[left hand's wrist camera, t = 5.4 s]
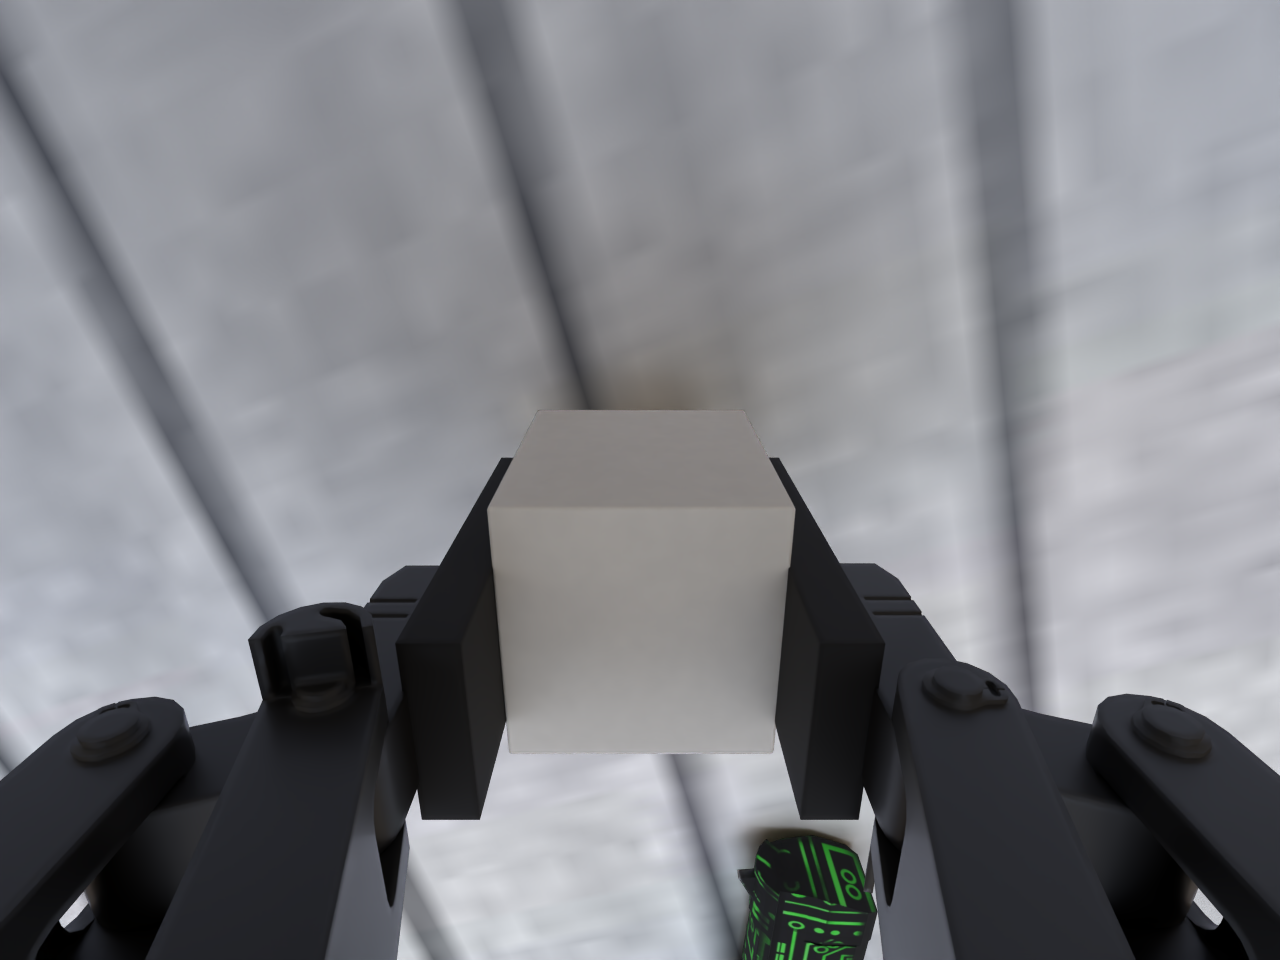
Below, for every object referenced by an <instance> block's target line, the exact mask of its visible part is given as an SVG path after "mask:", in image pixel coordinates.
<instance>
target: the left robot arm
mask: <svg viewBox="0 0 1280 960" xmlns="http://www.w3.org/2000/svg"><path fill="white" fill-rule="evenodd" d="M769 459H770V461H771V463H772V465H773V467H774V469H775V471H776V473H777V475H778V476H779V478H780V480H781V482H782V484H783V486H784V488H785V490H786V492H787V494H788V495H789V497H790V499H791V501H792V503H793V505H794V507H795V520H794V531H793V542H792V553H791V564H790V568H789V569H788V580H787V591H786V602H785V613H784V624H783V636H782V647H781V658H780V669H779V680H778V691H777V702H776V713H775V725H776V729H777V732H778V736H779V740H780V744H781V748H782V751H783V755H784V759H785V763H786V766H787V770H788V774H789V778H790V781H791V785H792V789H793V793H794V797H795V800H796V804H797V808H798V812H799V815H800V819H801V820H859V813H860V807H861V800H862V794H863V787H864V788H865V791H866V793H867V796H868V798H869V801H870V803H871V806H872V808H873V811H874V814H875V821H874V827H873V833H872V839H871V845H870V851H869V857H868V863H867V869H866V875H865V882H864V890H863V892H868V893H873V887H874V882H875V891H876V899H877V908H878V917H879V925H880V934H881V943H882V951H883V960H1280V776H1279V775H1278V774H1277V773H1276V772H1275V771H1274V770H1272V769H1271V768H1270V767H1269V766H1268V765H1267V764H1265V763H1264V762H1263V761H1262V760H1261V759H1259V758H1258V757H1257V756H1256V755H1255V754H1254V753H1252V752H1251V751H1250V750H1249V749H1248V748H1246V747H1245V746H1244V745H1243V744H1242V743H1241V742H1239V741H1238V740H1237V739H1236V738H1235V737H1233V736H1232V735H1231V734H1230V733H1229V732H1227V731H1226V730H1224V729H1223V728H1221V727H1220V726H1218V725H1217V724H1216V723H1214V722H1213V721H1211V720H1210V719H1208V718H1207V717H1205V716H1203V715H1201V714H1199V713H1197V712H1194V711H1192V710H1190V709H1188V708H1186V707H1184V706H1183V705H1180V704H1178V703H1175V702H1172V701H1169V700H1167V701H1166V700H1164V699H1161V698H1157V697H1152V696H1144V695H1134V694H1122V695H1116V696H1111V697H1107V698H1106V699H1105V700H1104V701H1103V702H1102V703H1100V704H1099V705H1098V707H1097V711H1096V714H1095V717H1094V721H1093V724H1087V723H1083V722H1078V721H1073V720H1068V719H1063V718H1058V717H1054V716H1049V715H1044V714H1040V713H1036V712H1032V711H1028V710H1025V709H1021V706H1020V704H1019V702H1018V700H1017V698H1016V697H1015V696H1014V694H1013V693H1012V692H1011V690H1010V689H1009V688H1008V686H1007V685H1006V684H1004V683H1003V682H1001V681H1000V680H999V679H997V678H996V677H994V676H993V675H992V674H990V673H989V672H986V671H984V670H982V669H979V668H977V667H975V666H972V665H970V664H968V663H963V662H959V661H956V659H955V658H954V657H953V655H952V654H951V652H950V651H949V650H948V648H947V647H946V645H945V644H944V643H943V641H942V640H941V638H940V637H939V636H938V634H937V633H936V631H935V630H934V629H933V627H932V626H931V624H930V623H929V621H928V620H927V619H926V617H925V616H924V615H922V614H921V610H920V609H919V607H918V606H917V605H916V603H915V602H914V600H911V596H910V595H909V593H908V592H907V591H906V589H905V588H904V586H903V585H902V584H901V582H900V581H899V579H898V578H896V577H895V576H893V575H892V574H890V573H889V572H887V571H885V570H884V569H882V568H881V567H879V566H878V565H876V564H875V563H839V562H838V560H837V558H836V556H835V555H834V553H833V551H832V549H831V548H830V546H829V544H828V542H827V541H826V539H825V537H824V535H823V534H822V532H821V530H820V528H819V527H818V525H817V523H816V522H815V520H814V518H813V516H812V515H811V513H810V511H809V509H808V508H807V506H806V504H805V502H804V501H803V499H802V497H801V495H800V494H799V492H798V490H797V488H796V487H795V485H794V483H793V481H792V480H791V478H790V476H789V475H788V473H787V471H786V469H785V468H784V466H783V464H782V462H781V461H780V459H779V458H769ZM512 460H513V458H501V460H500V461H499V463H498V465H497V467H496V468H495V470H494V472H493V474H492V475H491V477H490V479H489V481H488V482H487V484H486V486H485V488H484V489H483V491H482V493H481V494H480V496H479V498H478V500H477V501H476V503H475V505H474V507H473V508H472V510H471V512H470V514H469V515H468V517H467V519H466V521H465V522H464V524H463V526H462V528H461V529H460V531H459V533H458V535H457V536H456V538H455V540H454V542H453V543H452V545H451V547H450V548H449V550H448V552H447V554H446V555H445V557H444V559H443V561H442V562H441V564H440V566H405V567H403V568H402V569H400V570H399V571H397V572H396V573H394V574H393V575H391V576H390V577H388V578H387V579H385V580H384V581H382V583H381V584H380V586H379V587H378V588H377V590H376V591H375V593H374V594H373V596H372V597H371V598H370V603H367V604H366V605H365V607H364V608H363V607H361V606H357V605H353V604H349V603H345V602H341V603H320V604H314V605H309V606H304V607H300V608H297V609H294V610H292V611H289V612H286V613H284V614H281V615H278V616H277V617H275V618H273V619H272V620H270V621H268V622H267V623H265V624H264V625H262V626H260V627H259V628H258V629H257V630H256V632H255V633H254V634H253V635H252V636H251V637H250V638H249V639H248V642H249V646H250V650H251V654H252V658H253V662H254V666H255V670H256V674H257V679H258V683H259V687H260V691H261V695H262V699H263V701H262V703H261V705H260V708H259V710H258V712H256V713H252V714H248V715H245V716H241V717H237V718H232V719H227V720H222V721H217V722H212V723H208V724H203V725H198V726H193V727H189V725H188V722H187V719H186V715H185V712H184V709H183V708H182V707H181V706H180V705H179V704H178V703H176V702H175V701H174V700H171V699H165V698H159V697H148V698H138V699H130V700H125V701H121V702H118V703H116V704H115V703H113V704H110V705H107V706H104V707H101V708H99V709H98V710H96V711H94V712H92V713H90V714H88V715H85V716H83V717H81V718H79V719H77V720H75V721H74V722H72V723H71V724H69V725H68V726H66V727H65V728H64V729H62V730H61V731H59V732H58V733H56V734H55V735H53V736H52V737H51V738H50V739H49V740H48V741H46V742H45V743H44V744H43V745H42V746H40V747H39V748H38V749H37V750H36V751H35V752H33V753H32V754H31V755H30V756H29V757H28V758H26V759H25V760H24V761H23V762H22V763H21V764H19V765H18V766H17V767H16V768H15V769H14V770H12V771H11V772H10V773H9V774H8V775H7V776H5V777H4V778H3V779H2V780H1V781H0V960H397V953H398V944H399V936H400V927H401V918H402V910H403V901H404V892H405V884H406V875H407V866H408V857H409V849H410V847H409V840H408V833H407V827H406V821H405V818H406V816H407V813H408V811H409V808H410V806H411V803H412V800H413V798H414V795H415V793H416V790H418V797H419V804H420V810H421V817H422V820H480V817H481V813H482V810H483V806H484V802H485V798H486V795H487V791H488V787H489V783H490V779H491V776H492V772H493V768H494V764H495V761H496V757H497V753H498V749H499V746H500V742H501V738H502V734H503V730H504V727H505V723H506V713H505V702H504V690H503V679H502V668H501V657H500V646H499V634H498V623H497V612H496V601H495V590H494V579H493V567H492V558H491V546H490V535H489V524H488V513H487V509H488V506H489V504H490V502H491V500H492V499H493V497H494V495H495V493H496V491H497V489H498V487H499V485H500V483H501V481H502V479H503V477H504V475H505V473H506V471H507V469H508V467H509V466H510V464H511V462H512ZM1198 888H1199V889H1200V890H1201V891H1202V893H1203V894H1204V895H1205V896H1206V897H1207V898H1208V900H1209V901H1210V902H1211V903H1212V904H1213V905H1214V907H1215V908H1216V909H1217V910H1218V911H1219V912H1220V914H1221V915H1222V916H1223V919H1222V921H1221V923H1220V924H1219V925H1216V924H1214V923H1213V922H1212V921H1211V920H1210V919H1209V918H1208V917H1207V916H1206V915H1205V914H1204V913H1203V912H1202V910H1201V909H1200V908H1199V907H1198V906H1197V905H1196V903H1195V902H1194V901H1193V900H1194V897H1195V895H1196V892H1197V890H1198ZM83 891H84V893H85V896H86V898H87V900H88V904H87V906H86V907H85V908H84V909H83V910H82V912H81V913H80V914H79V915H78V916H77V917H76V918H75V919H74V920H73V921H72V922H71V923H70V924H68V925H67V926H66V927H65V928H63V927H62V926H61V924H60V922H59V920H60V918H61V917H62V916H63V915H64V914H65V912H66V911H67V910H68V909H69V908H70V907H71V905H72V904H73V903H74V902H75V901H76V900H77V898H78V897H79V896H80V895H81V894H82V893H83Z"/></svg>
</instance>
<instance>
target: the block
mask: <svg viewBox="0 0 1280 960" xmlns="http://www.w3.org/2000/svg"><path fill="white" fill-rule="evenodd" d="M487 513H488V524H489V535H490V546H491V558H492V567H493V579H494V590H495V601H496V612H497V623H498V634H499V646H500V657H501V668H502V679H503V690H504V702H505V713H506V725H507V736H508V747H509V752H510V753H511V754H771V753H773V750H774V740H775V729H776V725H775V713H776V702H777V691H778V680H779V669H780V658H781V647H782V636H783V624H784V613H785V602H786V591H787V580H788V569H789V568H790V564H791V553H792V542H793V531H794V520H795V507H794V505H793V503H792V501H791V499H790V497H789V495H788V494H787V492H786V490H785V488H784V486H783V484H782V482H781V480H780V478H779V476H778V475H777V473H776V471H775V469H774V467H773V465H772V463H771V461H770V459H769V457H768V456H767V454H766V452H765V450H764V448H763V446H762V444H761V442H760V440H759V438H758V437H757V435H756V433H755V431H754V429H753V427H752V425H751V423H750V421H749V419H748V418H747V416H746V414H745V412H744V411H743V410H539V411H537V413H536V415H535V417H534V419H533V421H532V423H531V425H530V427H529V429H528V431H527V433H526V434H525V436H524V438H523V440H522V442H521V444H520V446H519V448H518V450H517V452H516V454H515V456H514V458H513V460H512V462H511V464H510V466H509V467H508V469H507V471H506V473H505V475H504V477H503V479H502V481H501V483H500V485H499V487H498V489H497V491H496V493H495V495H494V497H493V499H492V500H491V502H490V504H489V506H488V509H487Z"/></svg>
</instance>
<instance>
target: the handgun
mask: <svg viewBox="0 0 1280 960" xmlns="http://www.w3.org/2000/svg"><path fill="white" fill-rule="evenodd" d="M737 872H738V877H739V879H740V881H741V882H742V884H743V885H744V887H745V889H746V890H747V892H748V893H749V895H750V896H749V909H750V913H749V918H748V924H747V930H746V936H745V942H744V947H743V953H742V959H741V960H863V959H864V956H865V952H866V948H867V945H868V941H869V940H871V936H872V932H873V928H874V924H875V920H876V916H877V912H878V911H877V908H876V905H875V903H874V900H873V897H872V894H871V893H868V892H863V890H864V882H865V874H864V871H863V868H862V866H861V863H860V860H859V857H858V854H856V853H855V852H854V851H853V850H851V849H850V848H849V847H848V846H846V845H845V844H841V843H838V842H834V841H831V840H827V839H824V838H820V837H817V836H813V835H810V836H801V837H793V838H786V839H780V840H777V841H773V842H769V841H768V840H767V839H766V840H765V841H764V842H763V843H762V844H761V845H760V846H759V849H758V852H757V855H756V861H755V867H754V869H742V870H737Z"/></svg>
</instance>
